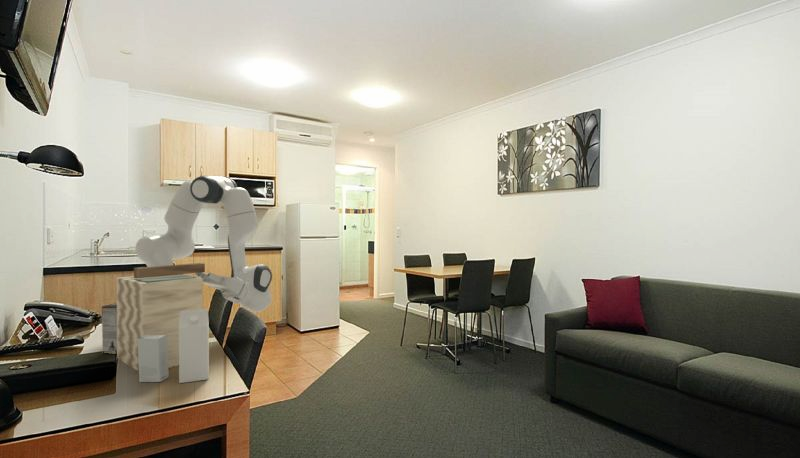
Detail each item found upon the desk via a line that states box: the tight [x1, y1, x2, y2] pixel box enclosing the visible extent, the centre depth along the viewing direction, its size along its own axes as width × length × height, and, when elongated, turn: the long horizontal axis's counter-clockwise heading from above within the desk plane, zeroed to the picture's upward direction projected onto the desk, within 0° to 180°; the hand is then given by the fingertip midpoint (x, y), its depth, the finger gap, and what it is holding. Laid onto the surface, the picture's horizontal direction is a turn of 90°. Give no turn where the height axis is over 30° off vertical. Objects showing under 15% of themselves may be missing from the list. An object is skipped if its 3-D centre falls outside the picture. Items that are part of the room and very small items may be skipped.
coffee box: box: [101, 302, 117, 352], centre depth 142 cm, size 9×6×16 cm
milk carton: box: [178, 308, 210, 384], centre depth 116 cm, size 7×7×19 cm
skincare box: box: [137, 335, 170, 383], centre depth 115 cm, size 6×4×12 cm
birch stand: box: [115, 274, 204, 372], centre depth 132 cm, size 22×17×26 cm
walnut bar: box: [133, 262, 206, 278], centre depth 141 cm, size 4×21×3 cm, turn 141°
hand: (202, 273), depth 149 cm, fingers open, 8 cm apart
